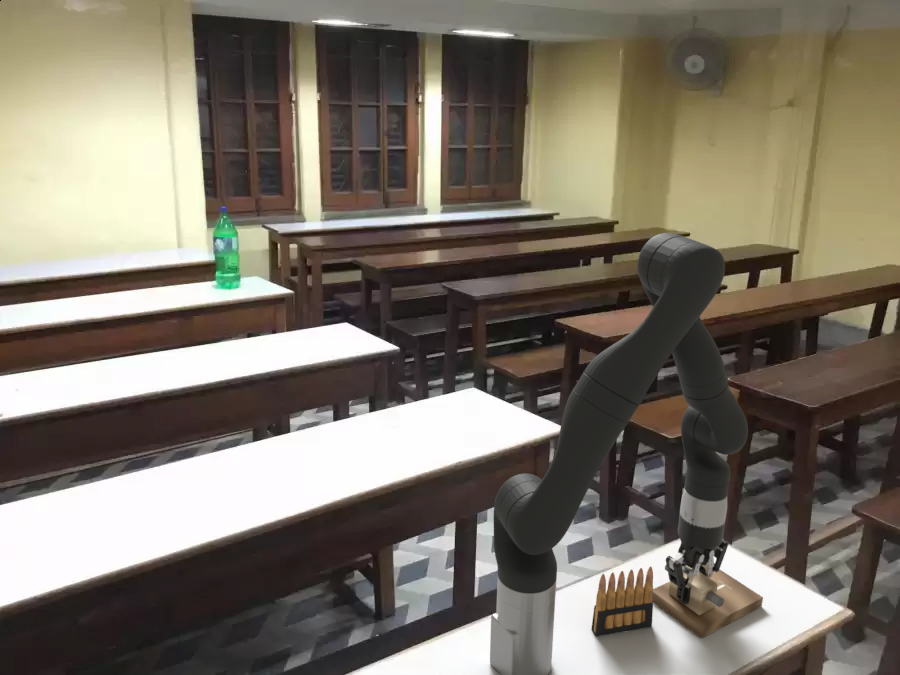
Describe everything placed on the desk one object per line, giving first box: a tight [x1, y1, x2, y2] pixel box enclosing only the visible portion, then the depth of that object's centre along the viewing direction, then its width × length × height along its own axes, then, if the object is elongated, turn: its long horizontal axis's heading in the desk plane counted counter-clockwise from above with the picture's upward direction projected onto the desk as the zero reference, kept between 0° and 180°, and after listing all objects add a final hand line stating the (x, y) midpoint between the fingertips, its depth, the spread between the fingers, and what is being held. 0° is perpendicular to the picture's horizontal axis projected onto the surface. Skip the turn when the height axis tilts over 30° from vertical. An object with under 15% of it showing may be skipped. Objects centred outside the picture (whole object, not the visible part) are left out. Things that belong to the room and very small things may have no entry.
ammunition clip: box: [591, 565, 654, 637], centre depth 127 cm, size 11×2×12 cm, turn 104°
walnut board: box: [652, 569, 764, 639], centre depth 135 cm, size 16×12×2 cm
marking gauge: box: [664, 564, 724, 615], centre depth 132 cm, size 4×12×5 cm, turn 31°
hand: (691, 596), depth 132 cm, fingers closed on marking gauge, 4 cm apart
